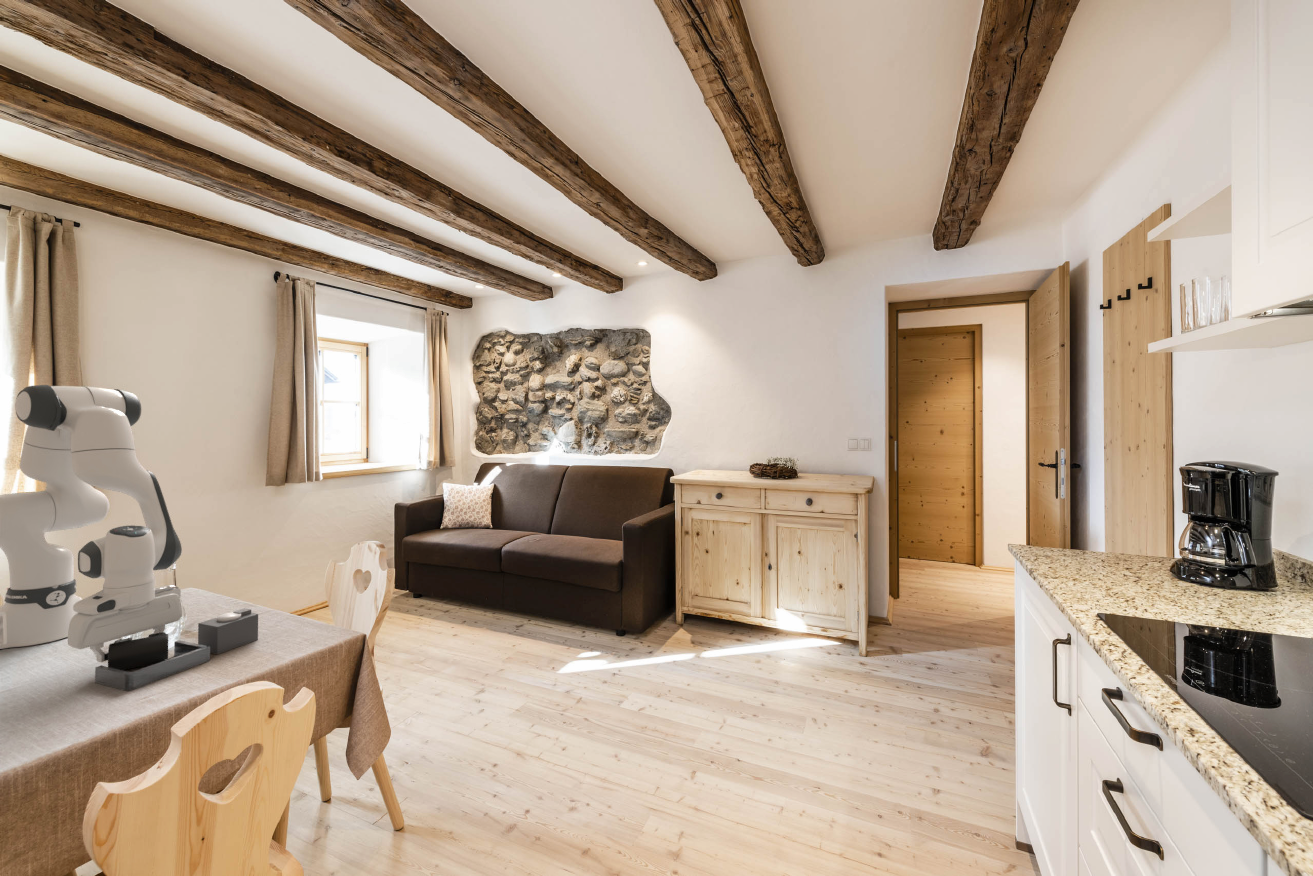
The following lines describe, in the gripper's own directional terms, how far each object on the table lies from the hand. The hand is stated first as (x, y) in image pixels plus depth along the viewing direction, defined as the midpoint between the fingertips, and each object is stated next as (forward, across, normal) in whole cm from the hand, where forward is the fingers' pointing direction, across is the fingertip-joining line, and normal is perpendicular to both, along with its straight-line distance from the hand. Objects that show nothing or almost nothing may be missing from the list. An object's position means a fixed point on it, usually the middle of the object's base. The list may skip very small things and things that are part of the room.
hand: (129, 652), depth 125 cm
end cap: (+3, 0, +3) cm, 4 cm away
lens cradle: (+3, 0, +9) cm, 10 cm away
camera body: (+3, -16, +9) cm, 19 cm away
